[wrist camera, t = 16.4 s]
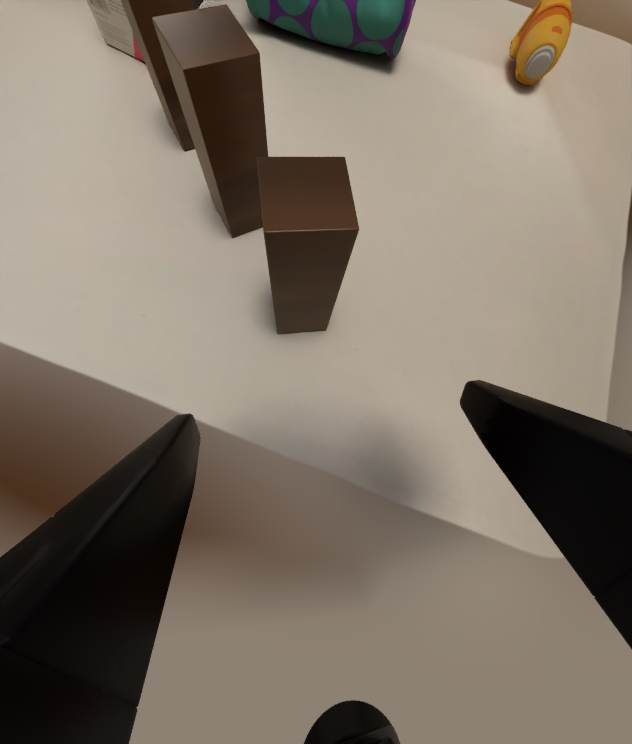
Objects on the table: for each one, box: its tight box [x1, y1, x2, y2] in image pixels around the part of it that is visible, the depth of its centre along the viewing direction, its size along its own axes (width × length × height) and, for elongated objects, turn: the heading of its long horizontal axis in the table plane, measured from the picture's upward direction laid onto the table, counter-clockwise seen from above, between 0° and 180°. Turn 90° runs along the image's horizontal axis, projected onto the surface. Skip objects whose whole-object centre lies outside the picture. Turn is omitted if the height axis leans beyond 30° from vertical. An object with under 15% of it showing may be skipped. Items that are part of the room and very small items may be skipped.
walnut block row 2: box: [121, 0, 195, 151], centre depth 22 cm, size 4×4×12 cm
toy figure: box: [510, 0, 572, 85], centre depth 34 cm, size 5×6×12 cm
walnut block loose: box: [257, 157, 359, 334], centre depth 18 cm, size 4×4×12 cm
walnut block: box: [152, 4, 268, 238], centre depth 20 cm, size 4×4×12 cm
